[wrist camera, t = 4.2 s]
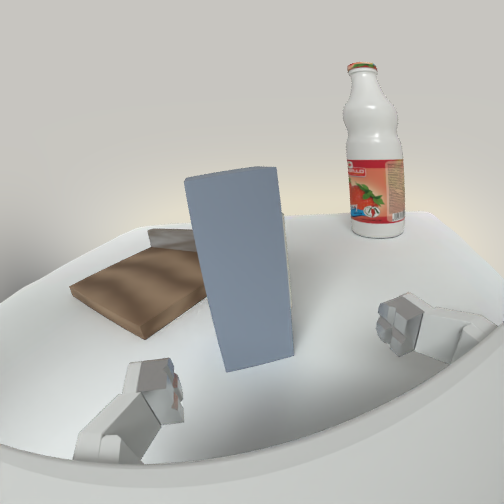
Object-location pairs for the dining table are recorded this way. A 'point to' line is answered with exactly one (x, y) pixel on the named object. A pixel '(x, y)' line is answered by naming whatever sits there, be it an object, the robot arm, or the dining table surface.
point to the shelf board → (147, 284)
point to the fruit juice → (373, 157)
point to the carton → (243, 263)
